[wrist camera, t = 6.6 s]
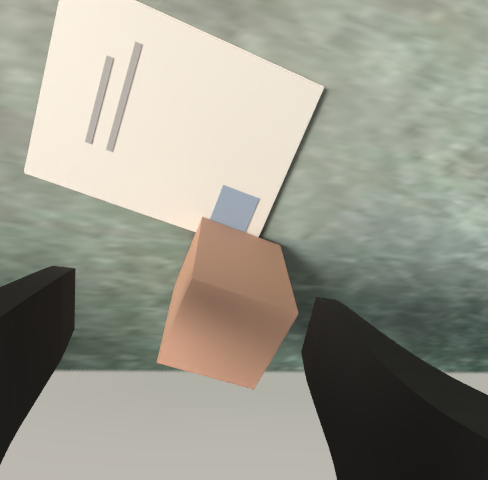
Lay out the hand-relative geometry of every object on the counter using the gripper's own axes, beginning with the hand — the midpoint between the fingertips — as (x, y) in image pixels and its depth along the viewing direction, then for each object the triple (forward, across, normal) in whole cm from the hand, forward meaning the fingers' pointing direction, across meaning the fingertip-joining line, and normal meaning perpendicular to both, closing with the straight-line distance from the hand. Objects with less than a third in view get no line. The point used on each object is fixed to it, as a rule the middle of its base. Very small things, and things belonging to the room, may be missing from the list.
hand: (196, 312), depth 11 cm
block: (+9, -2, +2) cm, 10 cm away
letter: (+9, +2, -4) cm, 11 cm away
